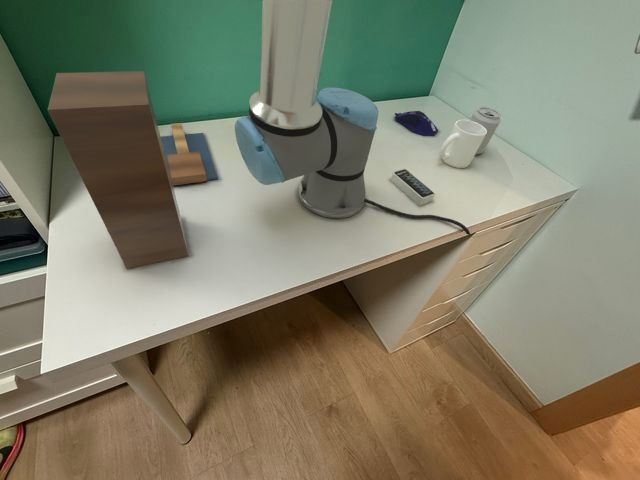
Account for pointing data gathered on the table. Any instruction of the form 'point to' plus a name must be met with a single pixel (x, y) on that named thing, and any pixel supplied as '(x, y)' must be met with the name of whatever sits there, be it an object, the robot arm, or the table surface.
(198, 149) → the mat
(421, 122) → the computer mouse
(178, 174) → the paddle
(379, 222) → the table surface
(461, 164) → the mug
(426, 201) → the multiport hub
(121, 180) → the plinth
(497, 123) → the can
